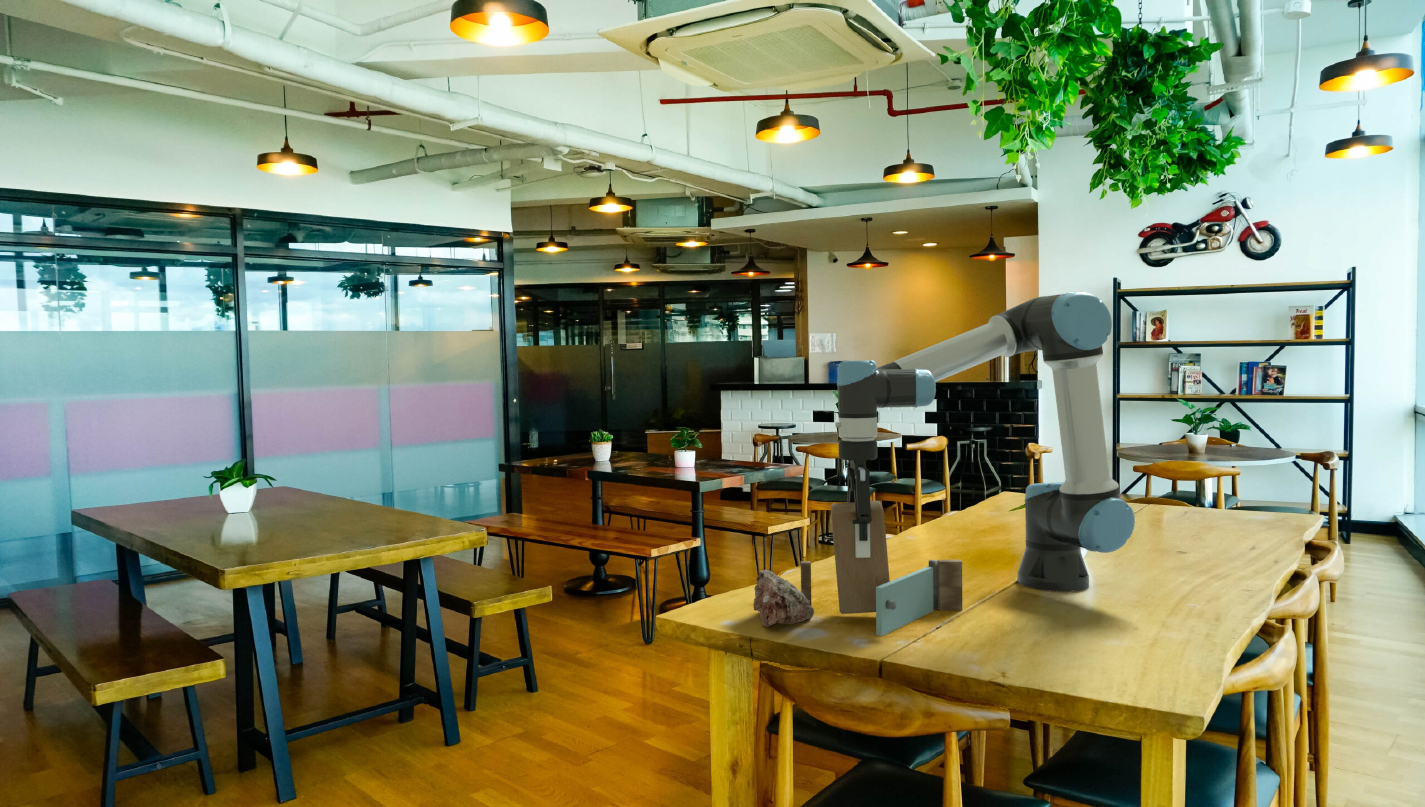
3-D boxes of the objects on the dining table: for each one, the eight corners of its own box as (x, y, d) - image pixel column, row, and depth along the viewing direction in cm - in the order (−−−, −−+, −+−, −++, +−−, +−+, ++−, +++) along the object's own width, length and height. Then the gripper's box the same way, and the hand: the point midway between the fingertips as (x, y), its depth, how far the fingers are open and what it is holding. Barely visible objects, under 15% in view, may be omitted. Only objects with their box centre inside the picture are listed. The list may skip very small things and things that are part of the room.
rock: (776, 561, 188) (826, 560, 177) (785, 613, 188) (837, 616, 176) (720, 579, 179) (769, 579, 167) (730, 633, 178) (780, 638, 167)
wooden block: (892, 612, 171) (883, 508, 170) (839, 615, 173) (830, 512, 172) (888, 597, 181) (880, 499, 180) (839, 600, 183) (830, 503, 181)
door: (928, 610, 183) (927, 566, 183) (939, 612, 182) (939, 568, 181) (876, 634, 167) (875, 587, 167) (888, 637, 165) (888, 589, 165)
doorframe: (960, 607, 184) (960, 559, 184) (962, 610, 183) (962, 561, 182) (801, 609, 186) (800, 561, 185) (801, 611, 184) (801, 563, 183)
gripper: (832, 434, 187) (834, 539, 188) (845, 444, 164) (846, 564, 165) (868, 434, 187) (870, 539, 188) (886, 444, 164) (887, 563, 165)
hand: (859, 551), depth 176 cm, fingers closed on wooden block, 10 cm apart
